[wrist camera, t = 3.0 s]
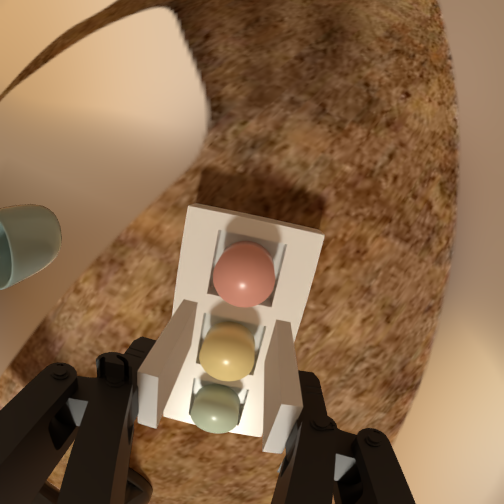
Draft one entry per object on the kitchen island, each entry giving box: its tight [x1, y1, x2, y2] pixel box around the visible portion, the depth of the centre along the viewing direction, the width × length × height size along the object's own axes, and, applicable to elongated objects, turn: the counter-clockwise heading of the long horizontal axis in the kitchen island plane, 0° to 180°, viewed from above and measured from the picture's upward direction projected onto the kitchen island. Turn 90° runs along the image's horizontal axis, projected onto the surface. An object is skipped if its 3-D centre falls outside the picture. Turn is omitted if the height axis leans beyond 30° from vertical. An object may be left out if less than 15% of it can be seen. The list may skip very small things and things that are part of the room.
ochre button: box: [199, 321, 255, 381], centre depth 28 cm, size 5×5×3 cm
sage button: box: [191, 384, 240, 433], centre depth 30 cm, size 5×5×3 cm
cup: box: [0, 204, 62, 290], centre depth 25 cm, size 8×8×10 cm
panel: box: [164, 203, 325, 437], centre depth 30 cm, size 12×25×3 cm, turn 168°
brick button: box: [213, 241, 275, 308], centre depth 26 cm, size 5×5×3 cm
